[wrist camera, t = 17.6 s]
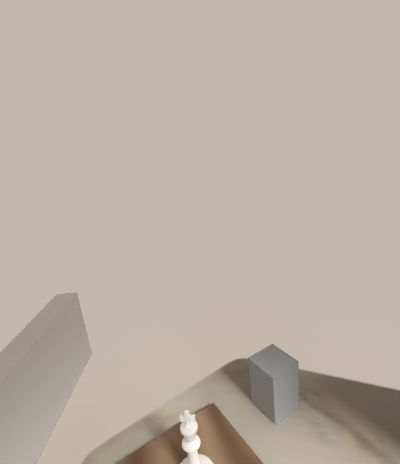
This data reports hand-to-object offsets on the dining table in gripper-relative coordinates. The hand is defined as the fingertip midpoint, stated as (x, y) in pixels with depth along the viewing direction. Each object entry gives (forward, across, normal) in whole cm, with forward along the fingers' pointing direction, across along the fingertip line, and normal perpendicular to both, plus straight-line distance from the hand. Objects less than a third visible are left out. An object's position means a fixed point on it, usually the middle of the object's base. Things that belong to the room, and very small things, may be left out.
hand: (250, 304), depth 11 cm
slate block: (+25, +7, -32) cm, 41 cm away
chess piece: (+15, -5, -31) cm, 35 cm away
